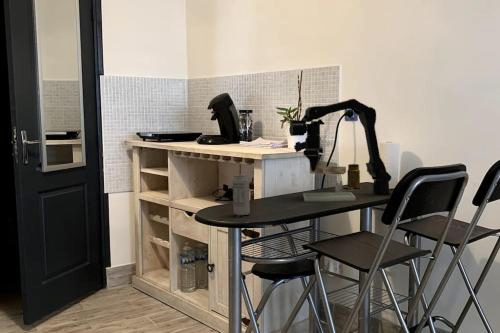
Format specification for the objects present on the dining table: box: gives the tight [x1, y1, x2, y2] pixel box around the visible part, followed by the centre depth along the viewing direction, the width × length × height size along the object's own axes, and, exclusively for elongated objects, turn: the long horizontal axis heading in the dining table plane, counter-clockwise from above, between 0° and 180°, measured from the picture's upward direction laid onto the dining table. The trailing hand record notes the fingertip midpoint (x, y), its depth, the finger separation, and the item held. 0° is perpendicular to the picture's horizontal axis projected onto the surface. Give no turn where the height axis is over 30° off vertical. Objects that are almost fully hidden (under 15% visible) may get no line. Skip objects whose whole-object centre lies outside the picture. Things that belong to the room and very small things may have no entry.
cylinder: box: [334, 180, 343, 193], centre depth 231 cm, size 3×3×6 cm
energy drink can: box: [232, 173, 251, 216], centre depth 185 cm, size 6×6×15 cm
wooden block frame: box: [309, 160, 347, 175], centre depth 219 cm, size 15×9×5 cm, turn 74°
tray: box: [303, 191, 356, 203], centre depth 218 cm, size 21×14×2 cm
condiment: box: [346, 163, 361, 188], centre depth 250 cm, size 7×8×12 cm
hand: (313, 170), depth 220 cm, fingers closed on wooden block frame, 4 cm apart
